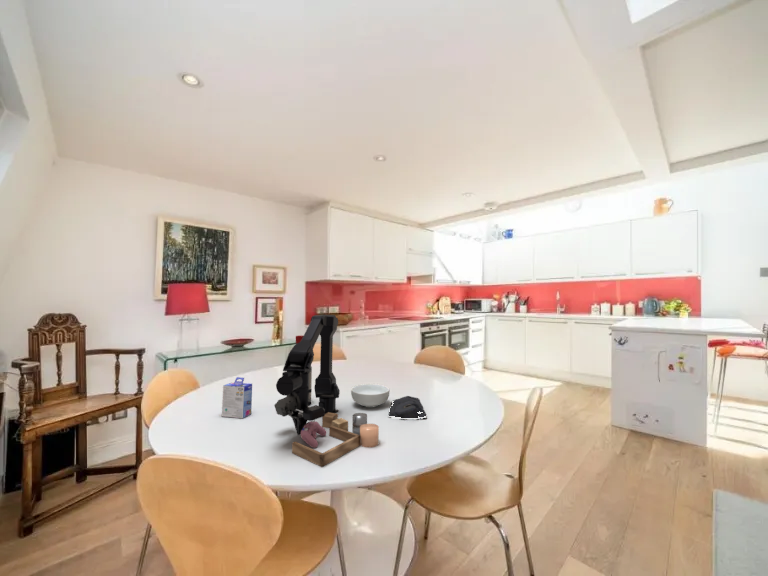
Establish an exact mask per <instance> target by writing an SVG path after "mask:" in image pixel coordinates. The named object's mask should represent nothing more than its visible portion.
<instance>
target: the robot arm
mask: <svg viewBox="0 0 768 576" xmlns="http://www.w3.org/2000/svg"><path fill="white" fill-rule="evenodd" d="M338 325H339V319H338V317H337V316H336V314H319V315H316V314H315V315H312V316H311V317H310V323H309V325H308V327H307V329H306V330H305V332H304V334H303V335H302V336H303V338H302V340H301V341H300V342H299V343H297V344H296V343H295V344H294V345H293V347H292V348H291V350H290V351H289V353H288V355H287V357H286V361H285V363H284V366H283V369H282V371H283V372H282V376H281V377H279V378H278V379H277V382H276V384H275V386H276V388H275V389H276V391H277V392H278V394H280V395H281V396H285V397H283V398H281V399H280V398H279V399H278V400H277V402H276V403H275V404H274V408H275V412H276V414H277V415H279V416H281V417H287V416H289V417H290V418H291V420H292V422H293V425H294V427H295V431H296V434H297V435H299V436H301V430H303V427H304V425H305V424H306V423H308V422H310V421H314V420H315V421H316V420H318V419H320V418H322V417H323V416H325V414H326V413H328V412H330V413H337V412H339V409H337V407H336V405H337V404H336V402H337V401H336V399H339V397H340V393H341V392H340V388H339V386H338V384H337V379H336V375H335V374H334V373H333V346H334V345H333V344H334V343H333V342H334V339H333V338H334V335H335V334H336V332H337V329H338ZM319 337H320V361H319V363H320V365H319V367H320V369H319V374H318V376H316V378H315V380H314V381H315V382H314V383H315V384H314V394H315V398H316V399H317V398H318V399H319V400H318V405H317V404H316V405H315V404H314V405H313V406H310V405H312V400H311V401H309V393H310V392H311V393H312V388H311V389H309V371H310V370H311V368H310V366H311V367H312V363H313V362H314V356H315V352H314V347H315V345H316V344H317V341H318V339H319ZM290 365H292V366H290ZM299 366H300V367H299ZM308 405H309V406H308Z"/></svg>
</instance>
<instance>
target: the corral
mask: <svg viewBox="0 0 768 576" xmlns="http://www.w3.org/2000/svg"><path fill="white" fill-rule="evenodd" d="M328 429H329V431H328V432H329V433H328V435H329V437H332V438H334V439H338V440H340V441H343V442H341V443H339V444H337V445H336V446H333V447H332V448H330V449H328V450H326V451H324V452H321V451H318V450H316V449H315V448H312V447H310V446H306V445H304V444H302V443H299V442H298V441H293V442H291V446H292V447H291V453H292V454H293V455H296V456H298V457H300V458H302V459H304V460H306V461H308V462H311V463H313V464H314V465H317V466H319V467H321V468H322V467H324V466H326V465H328V464H330V463H332V462H334V461H335V460H337V459H338V458H340V457H342V456H343V455H344V456H345V455H346V454H348V453H350V452H351V451H352V450H355V449H357V448H358V447H360V446H361V445H360V443H361V435H358V434H355V433H352V431H349V430H348V431H346V430H343V429H340V428H337V427H334V426H330V427H329V428H328Z"/></svg>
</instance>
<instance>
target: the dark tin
mask: <svg viewBox="0 0 768 576" xmlns="http://www.w3.org/2000/svg"><path fill="white" fill-rule="evenodd" d="M351 417H352V421H351V423H352V426H351V427H352V429H351V430H352V431H351V432H352V433H355V434H358V435H360V426H361V425H363V424H368V414H367V413H364V412H356V413H353V414H352V416H351Z"/></svg>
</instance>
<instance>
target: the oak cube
mask: <svg viewBox="0 0 768 576" xmlns="http://www.w3.org/2000/svg"><path fill="white" fill-rule="evenodd" d="M332 426H334V427H337V428H340V429H343V430H346V431H349V421H348V420H347V419H344V418H342V417H340V418H339V417H338V419H336V420H333V421H332Z"/></svg>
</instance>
